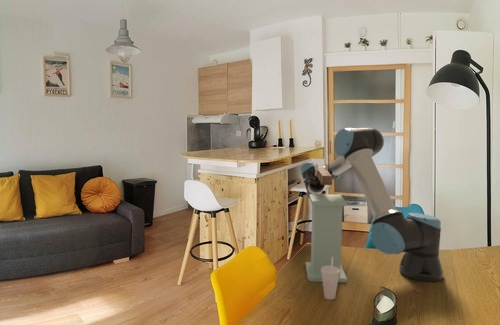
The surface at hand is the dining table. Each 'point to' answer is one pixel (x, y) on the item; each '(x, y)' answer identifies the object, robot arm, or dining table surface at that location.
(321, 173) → the walnut bar
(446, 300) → the dining table surface
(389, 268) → the dining table surface
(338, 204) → the stand
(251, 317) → the dining table surface
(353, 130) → the robot arm
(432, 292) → the dining table surface
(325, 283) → the smoothie
